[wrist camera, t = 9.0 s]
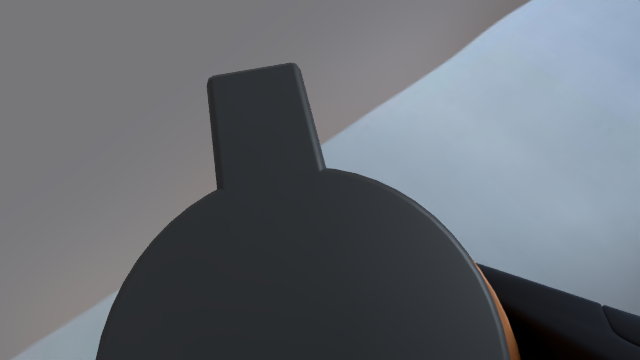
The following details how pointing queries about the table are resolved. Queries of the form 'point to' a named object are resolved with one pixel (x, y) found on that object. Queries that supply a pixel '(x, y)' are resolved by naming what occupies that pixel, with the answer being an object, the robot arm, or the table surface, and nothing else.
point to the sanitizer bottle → (299, 256)
